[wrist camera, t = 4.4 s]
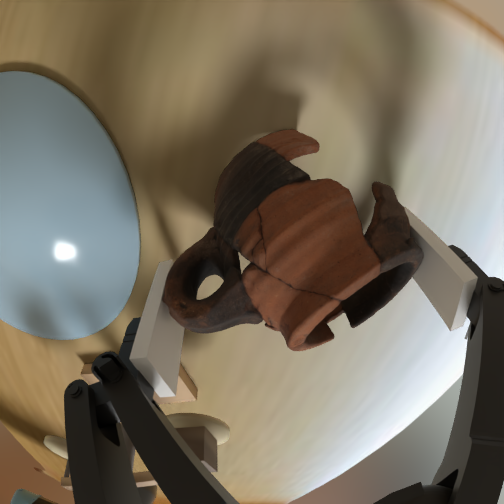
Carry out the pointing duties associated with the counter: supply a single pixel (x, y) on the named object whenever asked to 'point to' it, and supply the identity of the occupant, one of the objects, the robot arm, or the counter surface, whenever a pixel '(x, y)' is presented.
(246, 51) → the counter surface
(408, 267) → the pottery mug
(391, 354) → the counter surface
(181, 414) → the balance
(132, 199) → the plate
